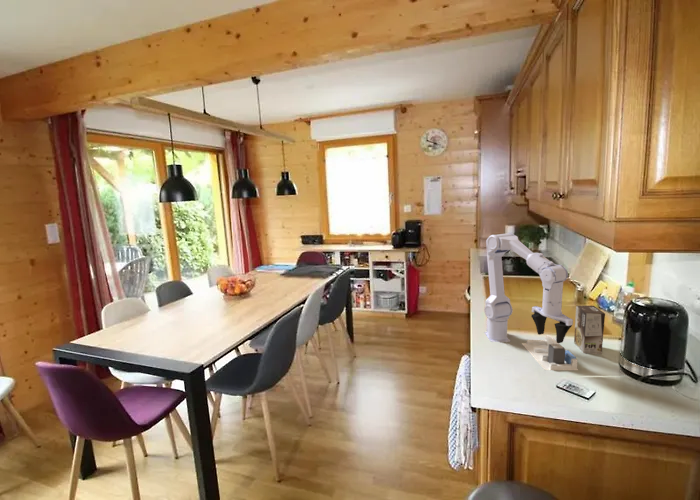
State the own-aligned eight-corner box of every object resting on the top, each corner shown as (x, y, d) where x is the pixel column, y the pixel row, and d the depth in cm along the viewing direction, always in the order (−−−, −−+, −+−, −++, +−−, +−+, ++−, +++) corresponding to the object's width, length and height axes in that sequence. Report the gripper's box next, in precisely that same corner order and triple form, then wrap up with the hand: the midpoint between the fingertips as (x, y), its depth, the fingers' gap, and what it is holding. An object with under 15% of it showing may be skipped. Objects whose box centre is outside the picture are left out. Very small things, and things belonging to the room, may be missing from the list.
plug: (547, 361, 128) (548, 343, 126) (558, 361, 127) (560, 343, 126) (552, 366, 124) (553, 347, 123) (564, 366, 124) (565, 347, 122)
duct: (521, 344, 143) (521, 333, 142) (550, 344, 142) (550, 333, 141) (544, 371, 122) (545, 359, 121) (578, 371, 121) (579, 359, 120)
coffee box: (602, 355, 131) (606, 313, 128) (583, 354, 133) (586, 313, 130) (591, 344, 140) (594, 305, 137) (573, 343, 141) (575, 304, 138)
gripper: (580, 305, 116) (577, 344, 119) (543, 293, 130) (541, 328, 132) (564, 308, 114) (562, 348, 116) (528, 296, 127) (526, 331, 130)
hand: (549, 338), depth 124 cm, fingers open, 7 cm apart
